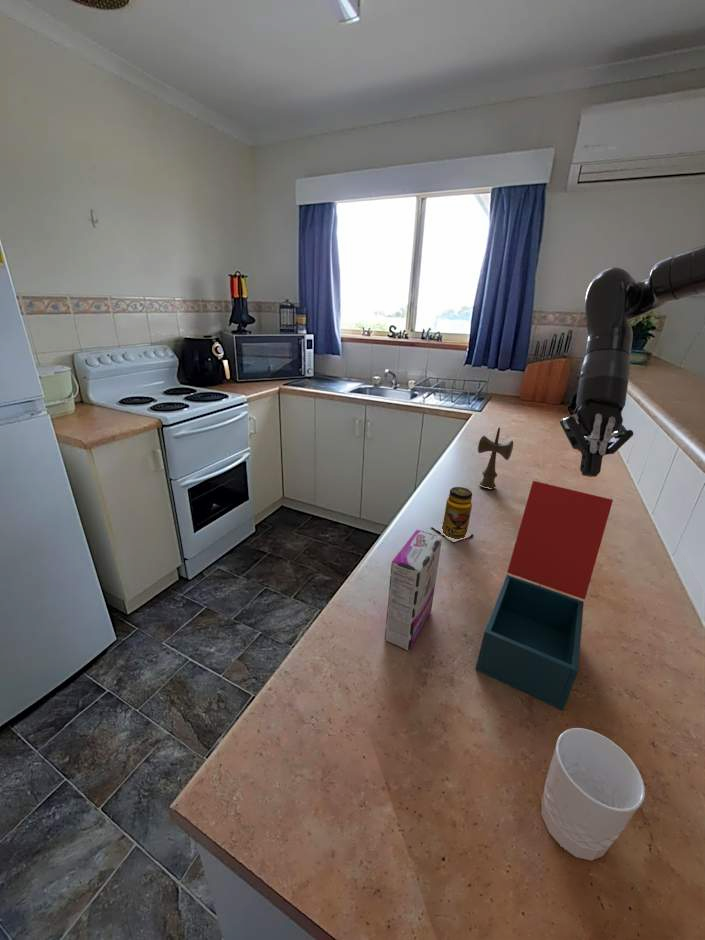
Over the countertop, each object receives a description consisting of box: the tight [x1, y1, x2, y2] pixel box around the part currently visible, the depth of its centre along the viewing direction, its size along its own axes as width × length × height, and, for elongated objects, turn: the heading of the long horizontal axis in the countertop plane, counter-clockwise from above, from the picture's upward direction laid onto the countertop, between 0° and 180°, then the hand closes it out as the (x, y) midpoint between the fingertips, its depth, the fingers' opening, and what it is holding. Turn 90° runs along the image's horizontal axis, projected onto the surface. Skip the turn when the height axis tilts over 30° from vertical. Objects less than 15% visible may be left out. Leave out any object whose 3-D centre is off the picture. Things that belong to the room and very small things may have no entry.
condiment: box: [442, 486, 473, 539], centre depth 98 cm, size 7×8×12 cm
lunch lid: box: [506, 480, 614, 600], centre depth 70 cm, size 17×13×1 cm
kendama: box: [477, 427, 514, 488], centre depth 123 cm, size 6×10×20 cm, turn 58°
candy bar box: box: [384, 529, 443, 652], centre depth 67 cm, size 11×5×16 cm, turn 151°
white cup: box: [540, 727, 646, 862], centre depth 42 cm, size 8×8×10 cm
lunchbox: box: [475, 574, 585, 711], centre depth 65 cm, size 17×13×8 cm
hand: (589, 475), depth 70 cm, fingers closed
